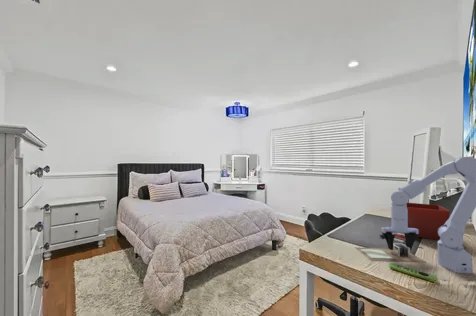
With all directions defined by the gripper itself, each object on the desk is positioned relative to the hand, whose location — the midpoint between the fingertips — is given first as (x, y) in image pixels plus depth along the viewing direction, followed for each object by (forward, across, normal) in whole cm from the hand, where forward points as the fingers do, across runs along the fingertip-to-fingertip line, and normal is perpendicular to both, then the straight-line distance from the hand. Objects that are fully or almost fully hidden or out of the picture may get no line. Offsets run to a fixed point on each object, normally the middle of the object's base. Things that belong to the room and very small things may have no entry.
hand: (399, 249), depth 94 cm
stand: (+3, +5, 0) cm, 6 cm away
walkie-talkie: (+4, -13, -18) cm, 23 cm away
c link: (+2, 0, 0) cm, 2 cm away
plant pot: (+3, -33, -31) cm, 45 cm away
